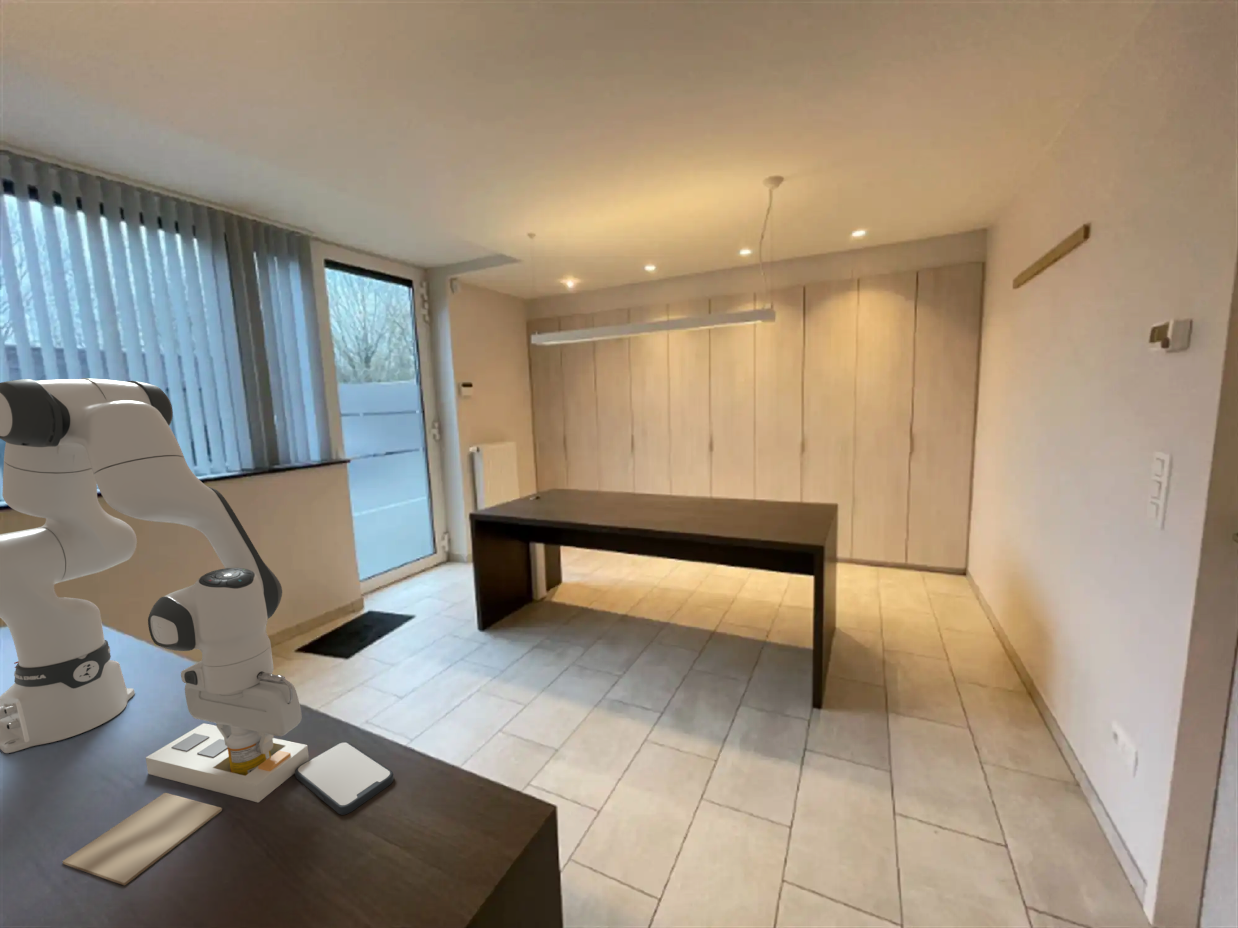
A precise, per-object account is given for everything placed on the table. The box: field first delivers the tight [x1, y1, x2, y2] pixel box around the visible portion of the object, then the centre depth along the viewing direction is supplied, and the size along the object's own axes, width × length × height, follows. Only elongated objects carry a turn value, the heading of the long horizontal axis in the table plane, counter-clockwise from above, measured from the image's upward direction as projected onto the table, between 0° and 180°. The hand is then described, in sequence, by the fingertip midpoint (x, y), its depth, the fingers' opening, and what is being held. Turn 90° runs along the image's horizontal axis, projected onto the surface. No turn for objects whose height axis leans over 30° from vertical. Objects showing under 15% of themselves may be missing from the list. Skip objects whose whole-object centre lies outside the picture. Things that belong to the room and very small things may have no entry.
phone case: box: [294, 741, 395, 816], centre depth 80 cm, size 9×2×16 cm
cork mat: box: [62, 792, 223, 886], centre depth 70 cm, size 12×12×1 cm
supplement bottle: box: [227, 725, 271, 776], centre depth 81 cm, size 5×5×10 cm
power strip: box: [145, 722, 310, 803], centre depth 83 cm, size 24×9×4 cm, turn 75°
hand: (249, 747), depth 81 cm, fingers closed on supplement bottle, 5 cm apart
